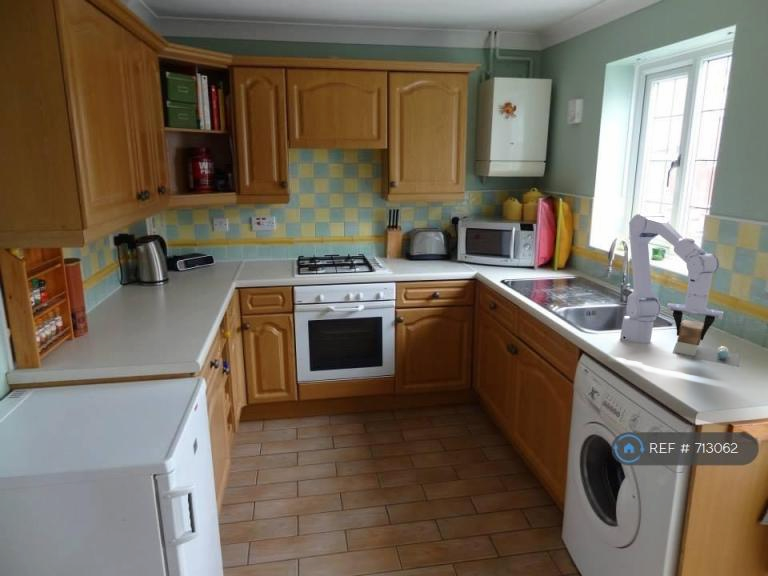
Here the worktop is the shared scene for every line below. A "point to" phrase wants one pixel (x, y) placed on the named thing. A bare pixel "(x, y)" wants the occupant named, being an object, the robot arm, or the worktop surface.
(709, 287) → the robot arm
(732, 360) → the board
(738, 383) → the worktop surface
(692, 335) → the walnut box
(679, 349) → the white box
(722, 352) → the marble
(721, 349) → the marble
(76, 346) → the worktop surface
